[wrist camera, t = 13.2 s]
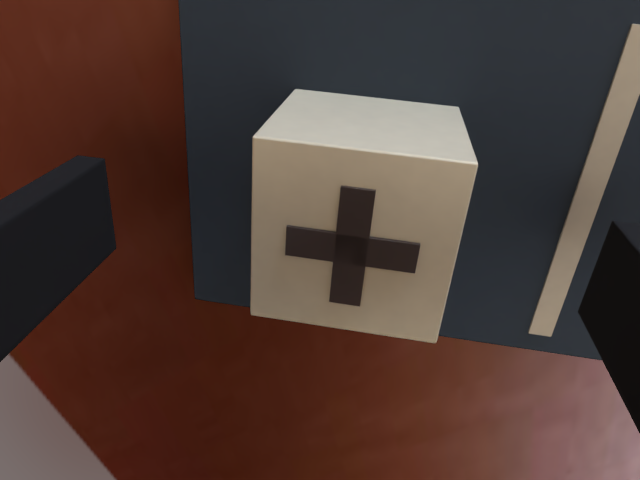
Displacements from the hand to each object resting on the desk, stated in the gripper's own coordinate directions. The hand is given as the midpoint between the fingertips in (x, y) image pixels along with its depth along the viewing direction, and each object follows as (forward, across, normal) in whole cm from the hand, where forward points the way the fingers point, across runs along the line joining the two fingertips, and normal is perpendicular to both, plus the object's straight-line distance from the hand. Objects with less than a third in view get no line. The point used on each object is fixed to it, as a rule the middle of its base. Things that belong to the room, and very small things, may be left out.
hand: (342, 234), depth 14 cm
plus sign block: (+4, 0, 0) cm, 4 cm away
